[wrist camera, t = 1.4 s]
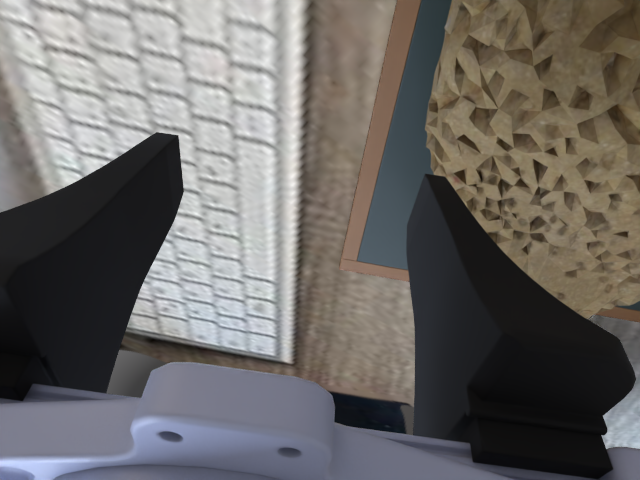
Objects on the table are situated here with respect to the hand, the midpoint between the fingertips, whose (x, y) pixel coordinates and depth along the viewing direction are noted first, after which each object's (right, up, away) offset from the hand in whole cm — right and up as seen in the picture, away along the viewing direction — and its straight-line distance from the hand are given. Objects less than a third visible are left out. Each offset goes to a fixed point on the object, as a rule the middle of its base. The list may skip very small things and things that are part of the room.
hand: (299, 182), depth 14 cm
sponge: (+12, +5, +8) cm, 15 cm away
